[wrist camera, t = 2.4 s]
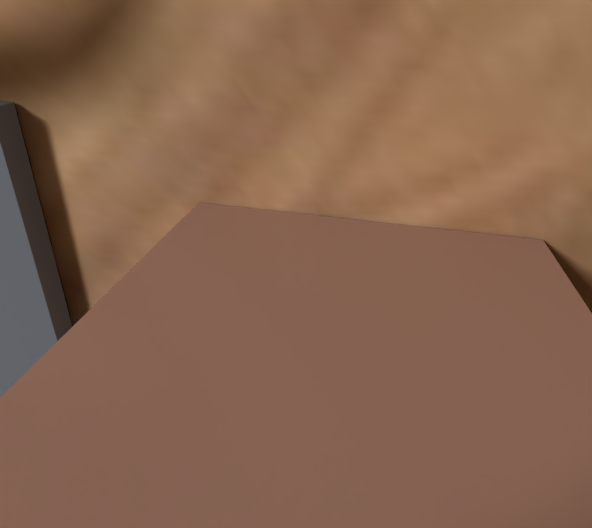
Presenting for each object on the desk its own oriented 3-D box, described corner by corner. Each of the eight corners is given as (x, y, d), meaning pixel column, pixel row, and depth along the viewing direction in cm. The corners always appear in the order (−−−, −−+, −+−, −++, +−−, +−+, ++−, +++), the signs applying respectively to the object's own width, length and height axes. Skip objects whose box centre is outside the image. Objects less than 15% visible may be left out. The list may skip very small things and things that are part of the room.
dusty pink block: (543, 239, 8) (1088, 1066, 2) (463, 471, 11) (553, 1060, 5) (199, 202, 9) (-262, 653, 3) (215, 427, 12) (24, 873, 6)
